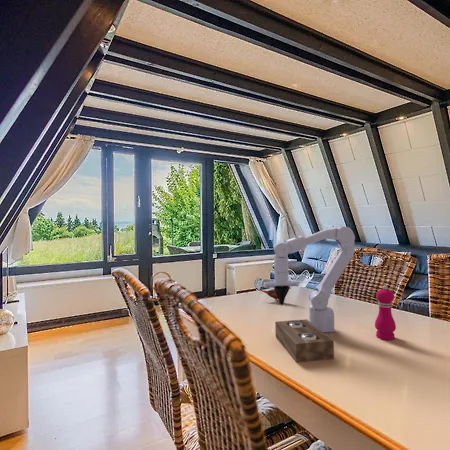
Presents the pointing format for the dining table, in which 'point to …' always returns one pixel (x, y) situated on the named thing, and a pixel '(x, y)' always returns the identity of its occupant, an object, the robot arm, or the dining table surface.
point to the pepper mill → (385, 315)
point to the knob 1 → (295, 324)
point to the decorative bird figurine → (272, 294)
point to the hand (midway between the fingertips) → (281, 303)
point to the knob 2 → (308, 336)
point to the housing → (301, 348)
